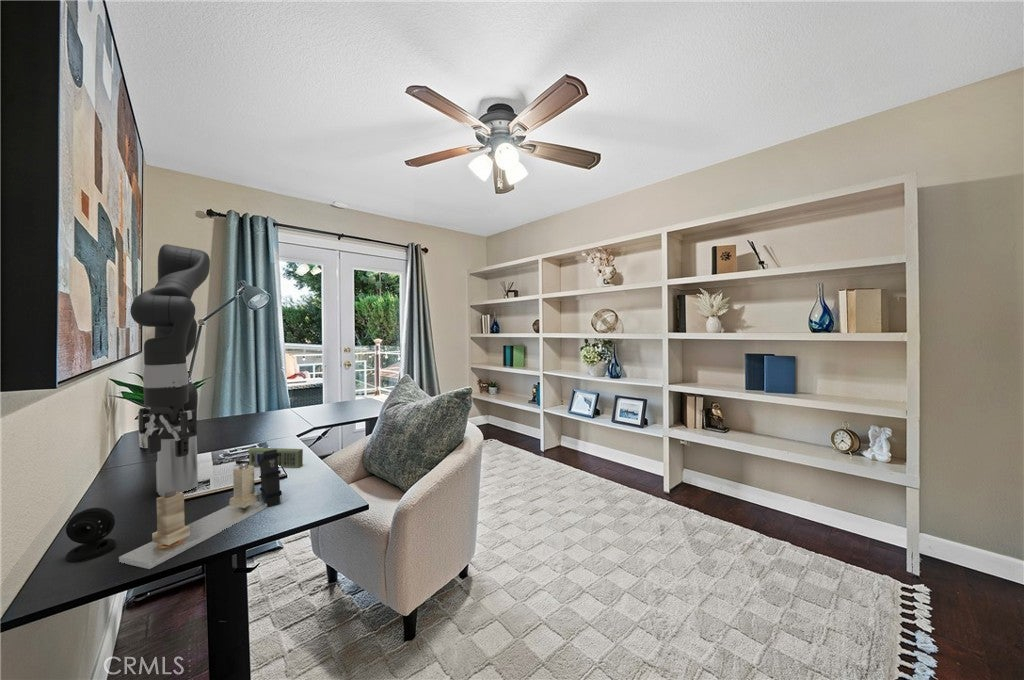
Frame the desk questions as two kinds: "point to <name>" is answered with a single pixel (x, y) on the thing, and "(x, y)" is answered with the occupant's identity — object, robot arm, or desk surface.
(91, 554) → the webcam
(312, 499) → the desk surface
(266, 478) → the black boxy piece
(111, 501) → the desk surface
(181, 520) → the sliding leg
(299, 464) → the handheld radio
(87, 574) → the desk surface
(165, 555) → the bolt-hole plate
